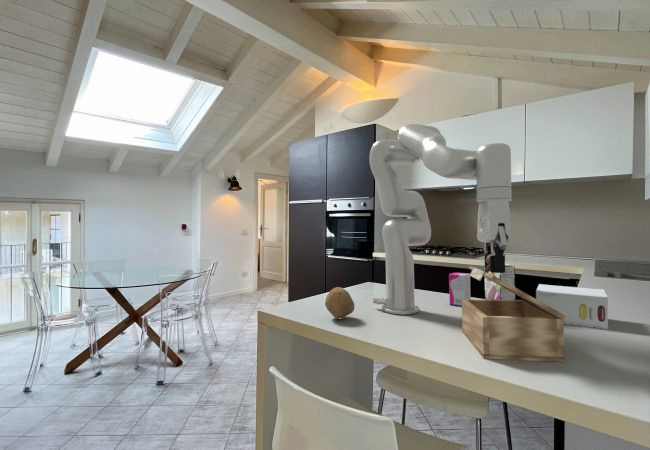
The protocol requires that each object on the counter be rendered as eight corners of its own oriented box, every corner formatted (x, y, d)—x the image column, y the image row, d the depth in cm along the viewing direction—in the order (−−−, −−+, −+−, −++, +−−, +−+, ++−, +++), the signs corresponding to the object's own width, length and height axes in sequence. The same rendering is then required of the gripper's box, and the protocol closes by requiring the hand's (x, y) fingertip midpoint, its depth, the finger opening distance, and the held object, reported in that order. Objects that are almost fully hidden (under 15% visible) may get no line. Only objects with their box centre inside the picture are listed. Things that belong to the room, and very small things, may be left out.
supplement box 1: (471, 304, 120) (470, 273, 120) (465, 307, 116) (464, 275, 116) (455, 302, 124) (454, 271, 124) (449, 305, 120) (448, 273, 120)
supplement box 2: (535, 320, 100) (535, 289, 100) (539, 311, 110) (538, 283, 110) (609, 330, 89) (608, 296, 89) (605, 319, 100) (604, 288, 100)
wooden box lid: (486, 284, 71) (504, 254, 71) (464, 272, 90) (478, 248, 89) (560, 325, 69) (579, 294, 69) (522, 304, 87) (537, 280, 87)
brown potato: (320, 316, 107) (320, 286, 107) (345, 313, 111) (344, 283, 111) (332, 324, 99) (331, 290, 99) (358, 320, 102) (357, 288, 102)
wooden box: (483, 358, 72) (482, 317, 72) (462, 332, 89) (461, 299, 89) (564, 361, 69) (563, 319, 69) (526, 334, 87) (525, 300, 87)
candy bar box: (484, 308, 114) (483, 261, 114) (498, 308, 114) (497, 261, 114) (500, 317, 103) (499, 265, 103) (516, 317, 103) (515, 264, 103)
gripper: (468, 198, 89) (469, 267, 89) (488, 193, 72) (489, 276, 72) (498, 198, 87) (499, 267, 87) (525, 192, 71) (526, 277, 71)
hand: (494, 270), depth 80 cm, fingers closed on wooden box lid, 3 cm apart
